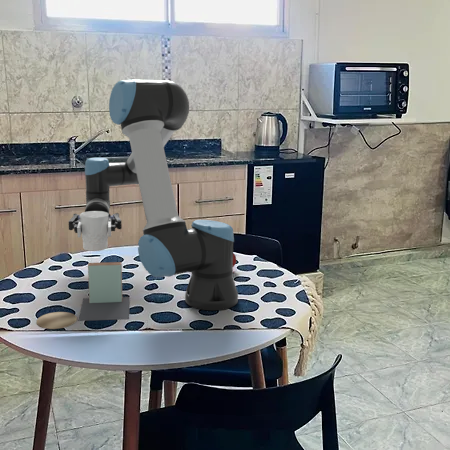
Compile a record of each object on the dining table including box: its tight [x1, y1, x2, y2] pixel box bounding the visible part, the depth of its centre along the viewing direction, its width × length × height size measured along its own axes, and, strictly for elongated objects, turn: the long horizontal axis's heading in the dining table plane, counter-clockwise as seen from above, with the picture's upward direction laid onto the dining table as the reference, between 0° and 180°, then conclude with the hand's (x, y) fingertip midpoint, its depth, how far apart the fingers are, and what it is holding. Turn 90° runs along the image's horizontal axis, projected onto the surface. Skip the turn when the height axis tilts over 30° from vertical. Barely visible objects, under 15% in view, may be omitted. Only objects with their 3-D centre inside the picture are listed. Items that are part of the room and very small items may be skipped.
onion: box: [233, 252, 237, 268], centre depth 194 cm, size 6×6×8 cm
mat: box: [77, 296, 131, 322], centre depth 160 cm, size 16×13×1 cm
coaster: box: [36, 311, 78, 330], centre depth 152 cm, size 10×10×1 cm
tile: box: [87, 261, 123, 303], centre depth 164 cm, size 2×9×11 cm, turn 98°
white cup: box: [79, 211, 110, 252], centre depth 167 cm, size 8×8×10 cm
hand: (94, 232), depth 163 cm, fingers closed on white cup, 8 cm apart
